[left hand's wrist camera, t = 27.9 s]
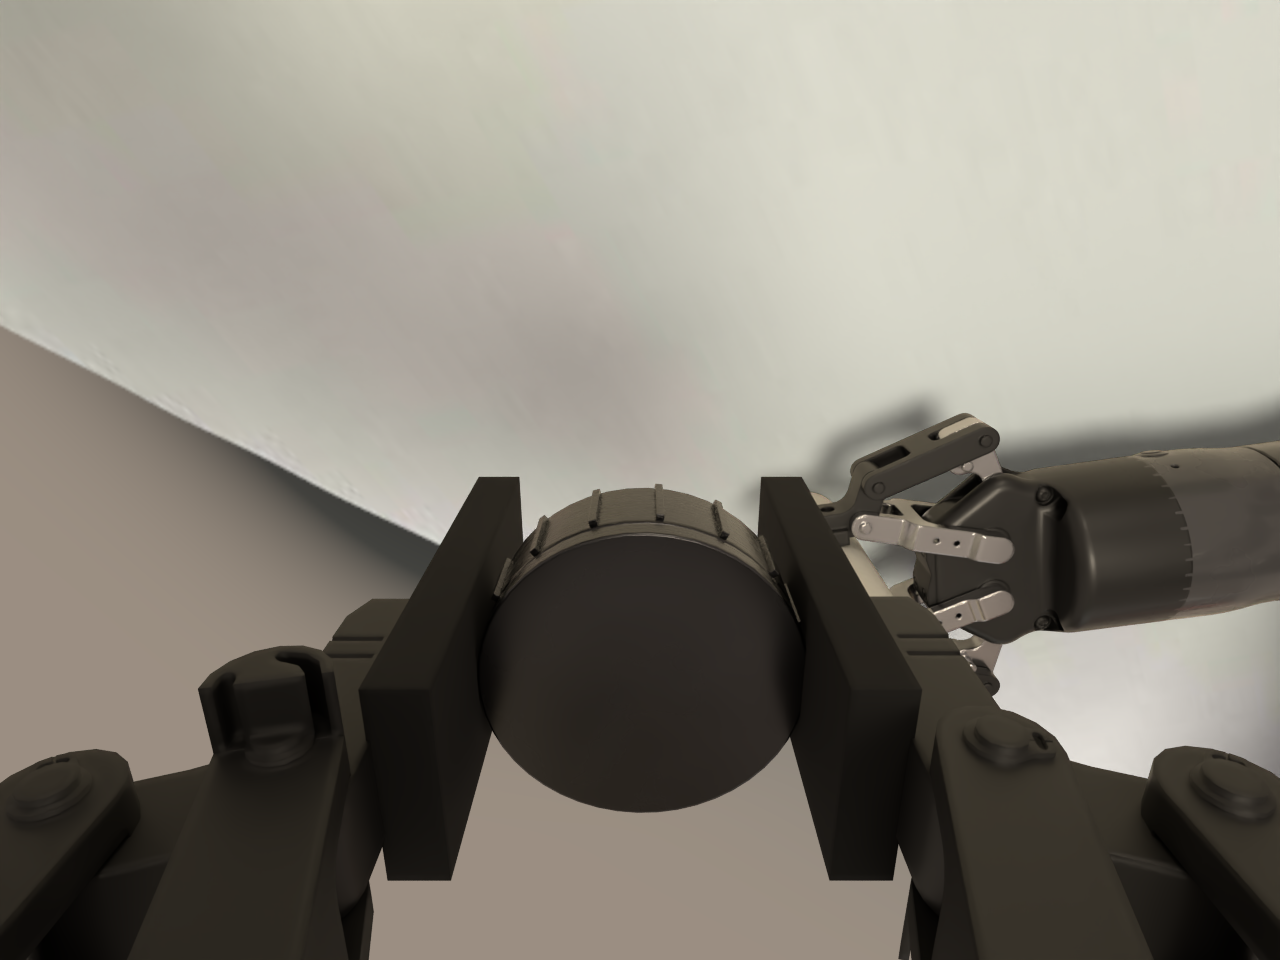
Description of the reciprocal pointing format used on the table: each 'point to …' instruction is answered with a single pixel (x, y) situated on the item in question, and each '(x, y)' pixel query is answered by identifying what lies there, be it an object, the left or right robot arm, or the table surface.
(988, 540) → the right robot arm
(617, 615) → the lid
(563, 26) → the table surface
